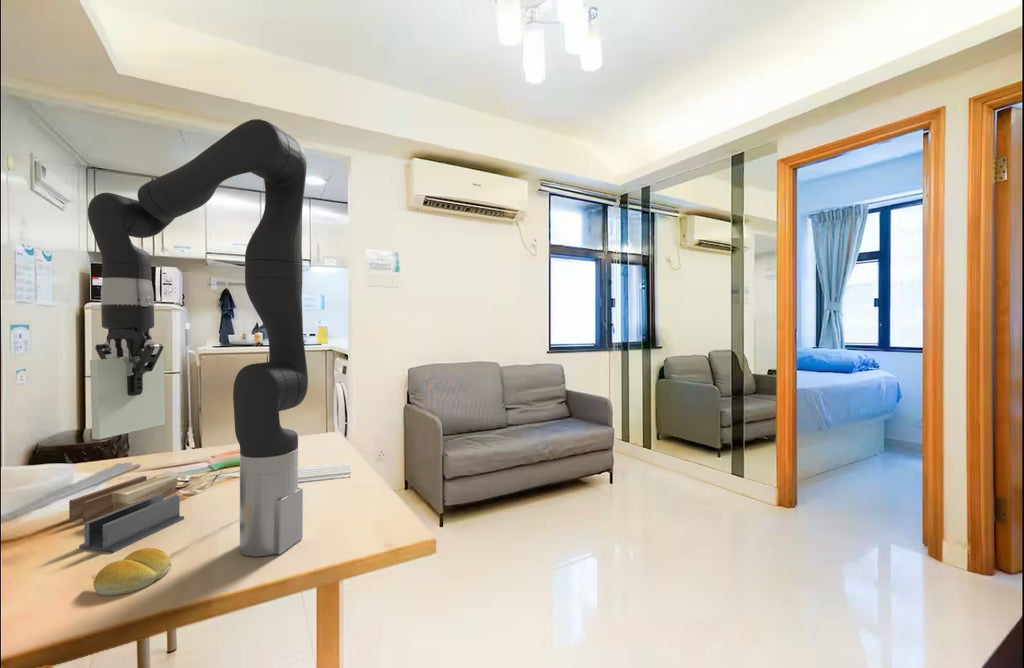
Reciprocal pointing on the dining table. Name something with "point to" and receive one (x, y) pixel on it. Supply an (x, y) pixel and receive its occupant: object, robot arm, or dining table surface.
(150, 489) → the tan piece
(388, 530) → the dining table surface
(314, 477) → the baseboard molding
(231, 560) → the dining table surface
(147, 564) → the bread roll
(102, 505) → the walnut rack
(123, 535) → the grey stand
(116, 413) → the sage panel
